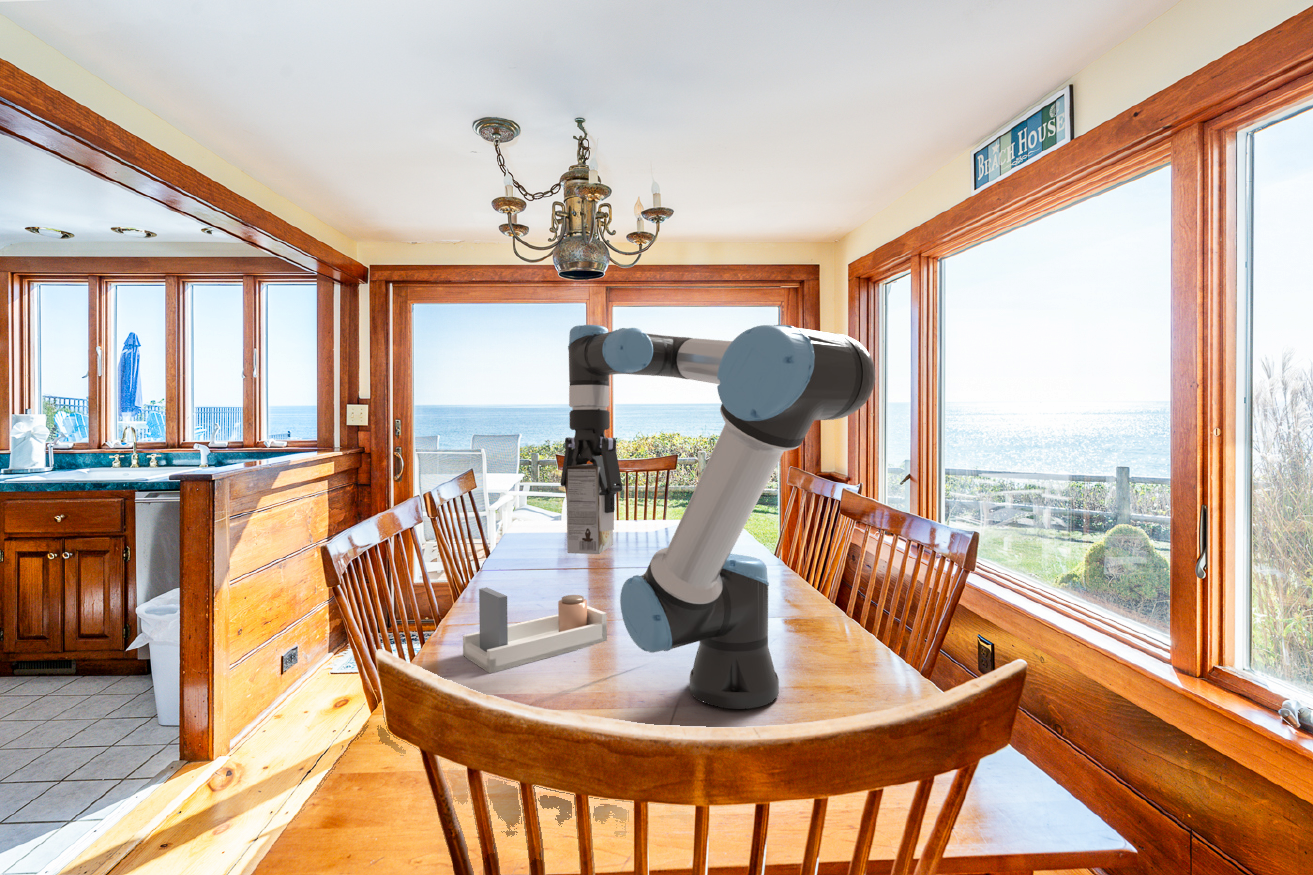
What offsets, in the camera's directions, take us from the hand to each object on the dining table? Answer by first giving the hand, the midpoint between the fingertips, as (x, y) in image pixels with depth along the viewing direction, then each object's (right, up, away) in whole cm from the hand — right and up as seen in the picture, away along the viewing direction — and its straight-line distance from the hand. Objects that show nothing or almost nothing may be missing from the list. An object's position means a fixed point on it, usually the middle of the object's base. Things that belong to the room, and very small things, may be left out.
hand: (590, 527), depth 119 cm
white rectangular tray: (-12, -26, +8) cm, 29 cm away
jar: (-5, -25, +14) cm, 29 cm away
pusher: (-19, -25, +2) cm, 31 cm away
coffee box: (0, -5, 0) cm, 5 cm away
